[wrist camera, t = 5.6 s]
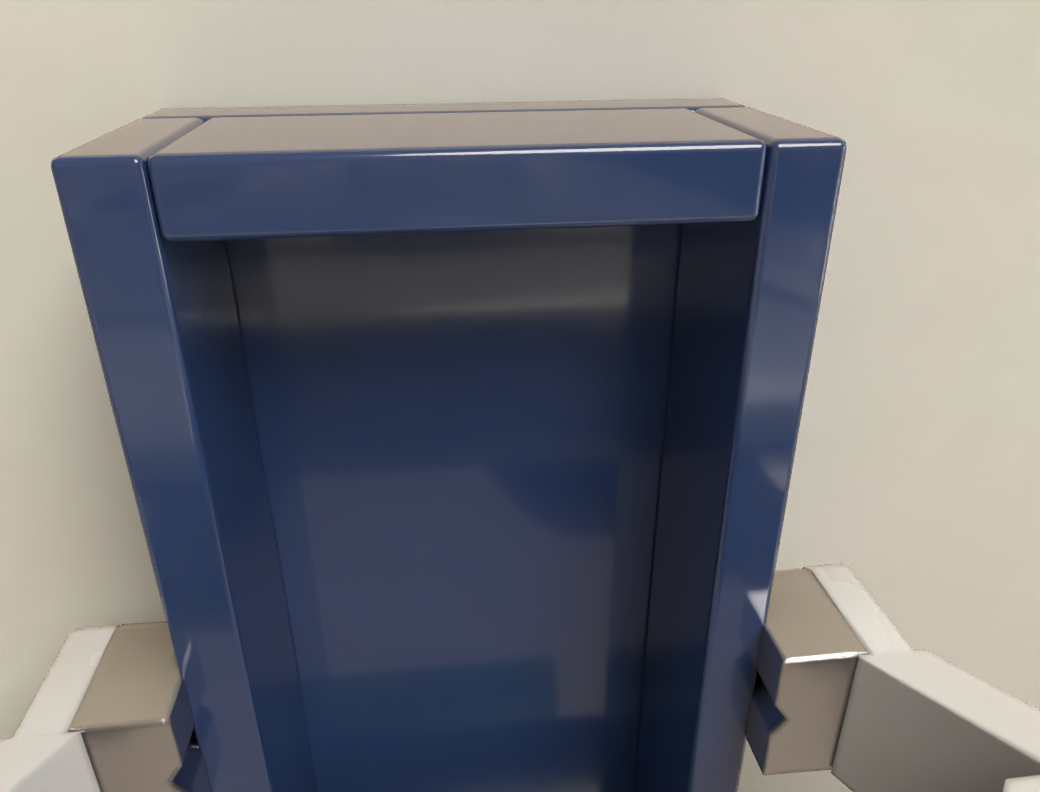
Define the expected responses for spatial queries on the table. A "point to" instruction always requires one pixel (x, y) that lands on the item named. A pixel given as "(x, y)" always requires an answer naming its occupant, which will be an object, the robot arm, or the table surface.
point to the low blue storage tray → (460, 426)
